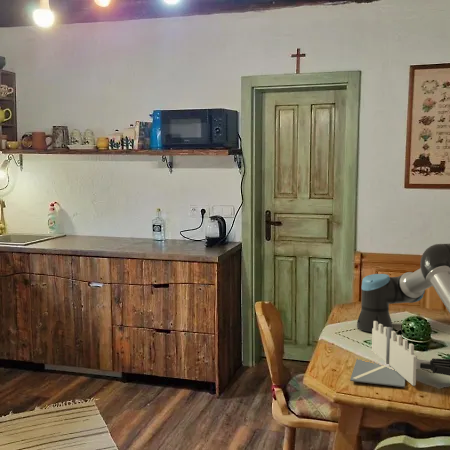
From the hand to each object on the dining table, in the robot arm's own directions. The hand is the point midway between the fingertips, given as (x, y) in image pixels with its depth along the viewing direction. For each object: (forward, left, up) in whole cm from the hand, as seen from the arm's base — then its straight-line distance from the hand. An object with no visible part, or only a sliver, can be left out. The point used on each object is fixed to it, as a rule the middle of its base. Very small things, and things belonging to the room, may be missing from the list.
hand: (410, 363), depth 194 cm
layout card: (-4, -14, -6) cm, 16 cm away
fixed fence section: (-11, -19, -6) cm, 22 cm away
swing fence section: (-1, -4, -6) cm, 7 cm away
